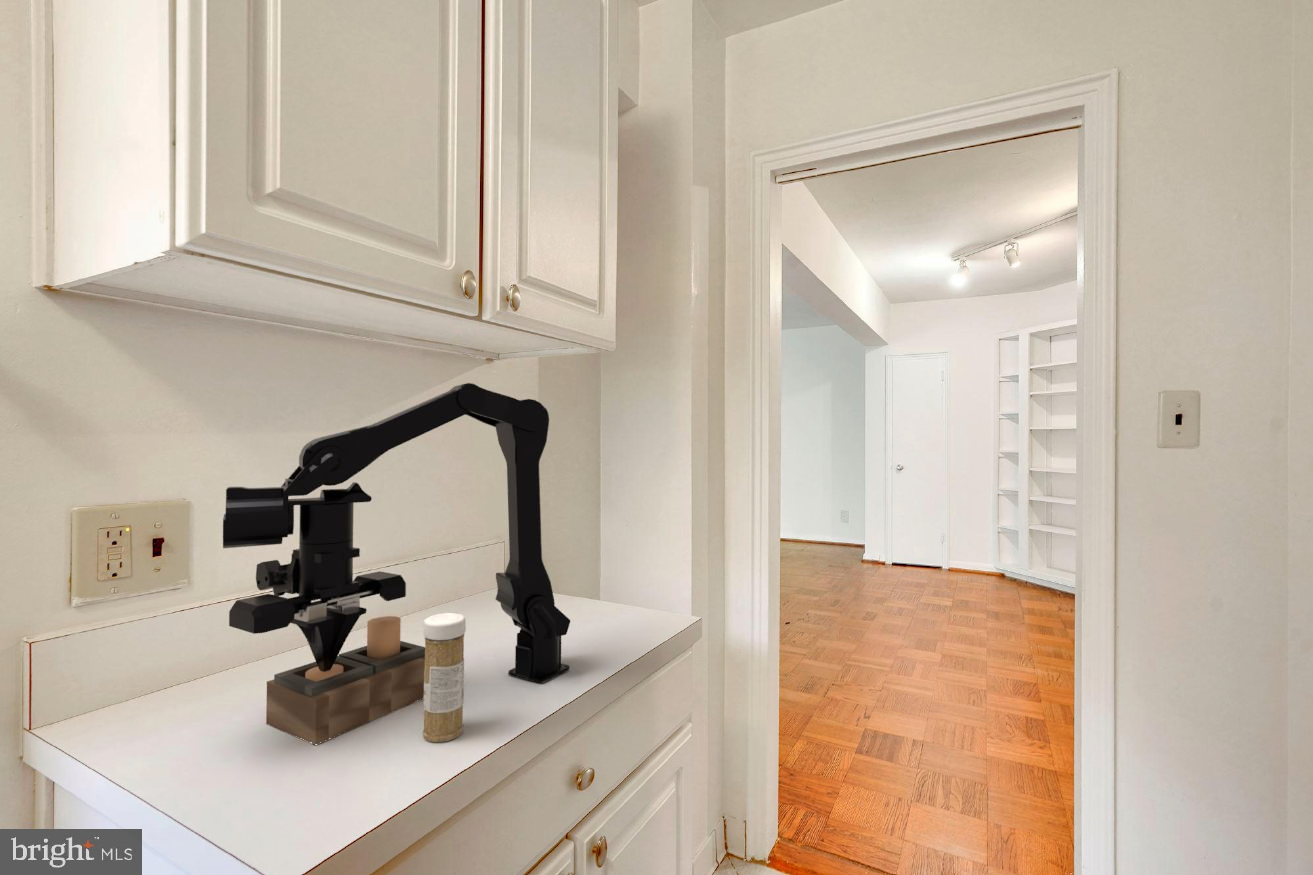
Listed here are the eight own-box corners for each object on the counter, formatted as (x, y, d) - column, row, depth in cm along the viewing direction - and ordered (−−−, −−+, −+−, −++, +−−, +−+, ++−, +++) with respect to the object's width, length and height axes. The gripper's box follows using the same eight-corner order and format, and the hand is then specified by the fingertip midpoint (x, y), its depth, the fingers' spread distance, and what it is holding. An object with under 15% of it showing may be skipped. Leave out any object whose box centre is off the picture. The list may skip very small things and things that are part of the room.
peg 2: (387, 658, 82) (387, 614, 82) (406, 664, 80) (407, 619, 80) (360, 668, 79) (360, 622, 79) (379, 674, 77) (380, 626, 77)
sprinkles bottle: (428, 725, 72) (430, 612, 72) (468, 724, 72) (469, 611, 72) (417, 745, 67) (418, 623, 67) (459, 743, 67) (460, 622, 68)
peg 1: (330, 710, 75) (330, 662, 75) (349, 717, 73) (350, 668, 73) (297, 722, 72) (298, 672, 72) (317, 731, 70) (318, 679, 70)
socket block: (385, 678, 86) (386, 636, 86) (433, 693, 81) (434, 648, 81) (266, 723, 72) (266, 673, 72) (315, 745, 67) (316, 691, 67)
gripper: (357, 526, 85) (355, 637, 85) (205, 545, 69) (203, 683, 69) (409, 533, 79) (408, 651, 79) (257, 555, 63) (255, 705, 63)
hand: (325, 670), depth 73 cm, fingers closed, pressing on peg 1
